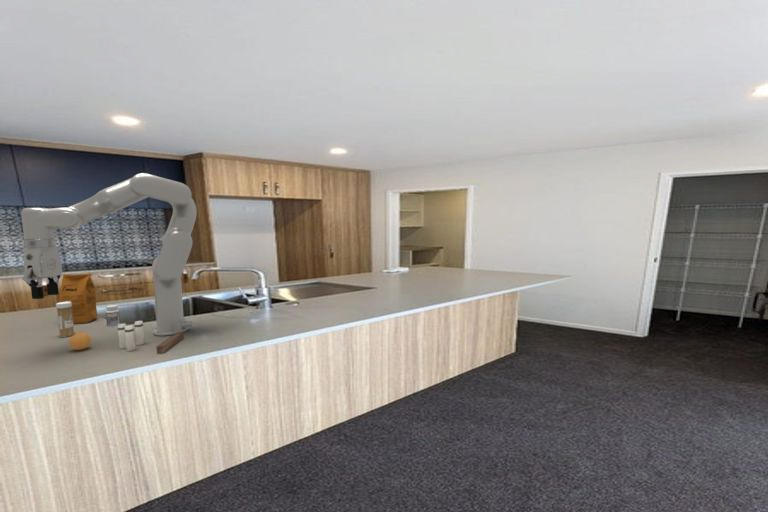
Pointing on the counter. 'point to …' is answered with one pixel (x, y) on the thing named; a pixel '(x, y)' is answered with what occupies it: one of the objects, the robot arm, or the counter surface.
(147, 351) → the counter surface
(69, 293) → the coffee package
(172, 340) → the brown wooden bar
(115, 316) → the pill bottle
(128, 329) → the pin
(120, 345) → the front pin
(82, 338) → the ball
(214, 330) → the counter surface
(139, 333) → the pin
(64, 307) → the sprinkles bottle
